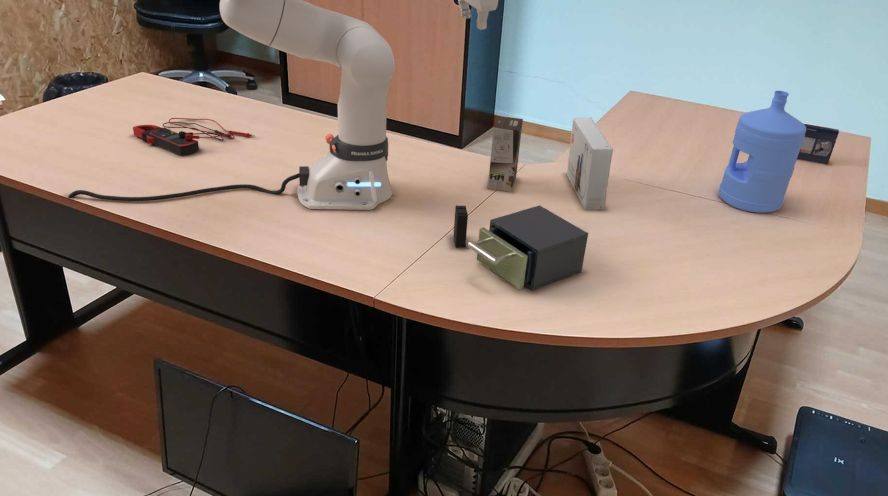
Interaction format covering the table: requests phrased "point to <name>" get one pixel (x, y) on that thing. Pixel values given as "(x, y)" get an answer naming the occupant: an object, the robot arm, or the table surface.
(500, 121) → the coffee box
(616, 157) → the table surface
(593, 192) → the skincare box
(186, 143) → the digital clamp meter
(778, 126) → the water jug
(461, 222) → the ink cartridge
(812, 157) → the vhs cassette tape
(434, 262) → the table surface
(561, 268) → the cabinet
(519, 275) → the drawer
